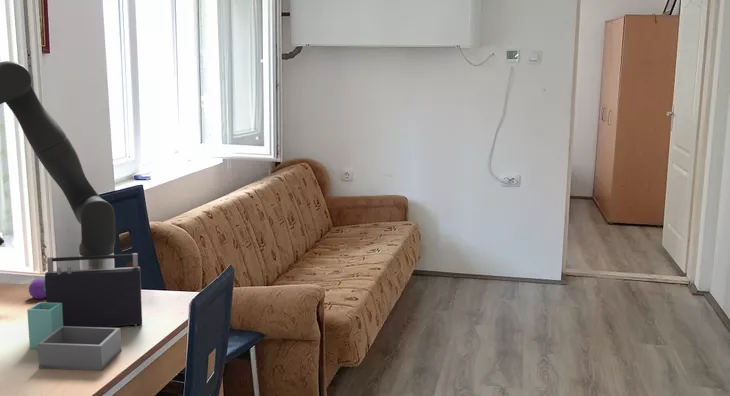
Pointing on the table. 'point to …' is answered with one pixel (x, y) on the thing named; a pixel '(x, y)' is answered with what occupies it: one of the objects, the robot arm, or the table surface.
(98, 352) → the big crate
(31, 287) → the kendama
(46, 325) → the box
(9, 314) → the table surface
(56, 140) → the robot arm
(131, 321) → the radio
